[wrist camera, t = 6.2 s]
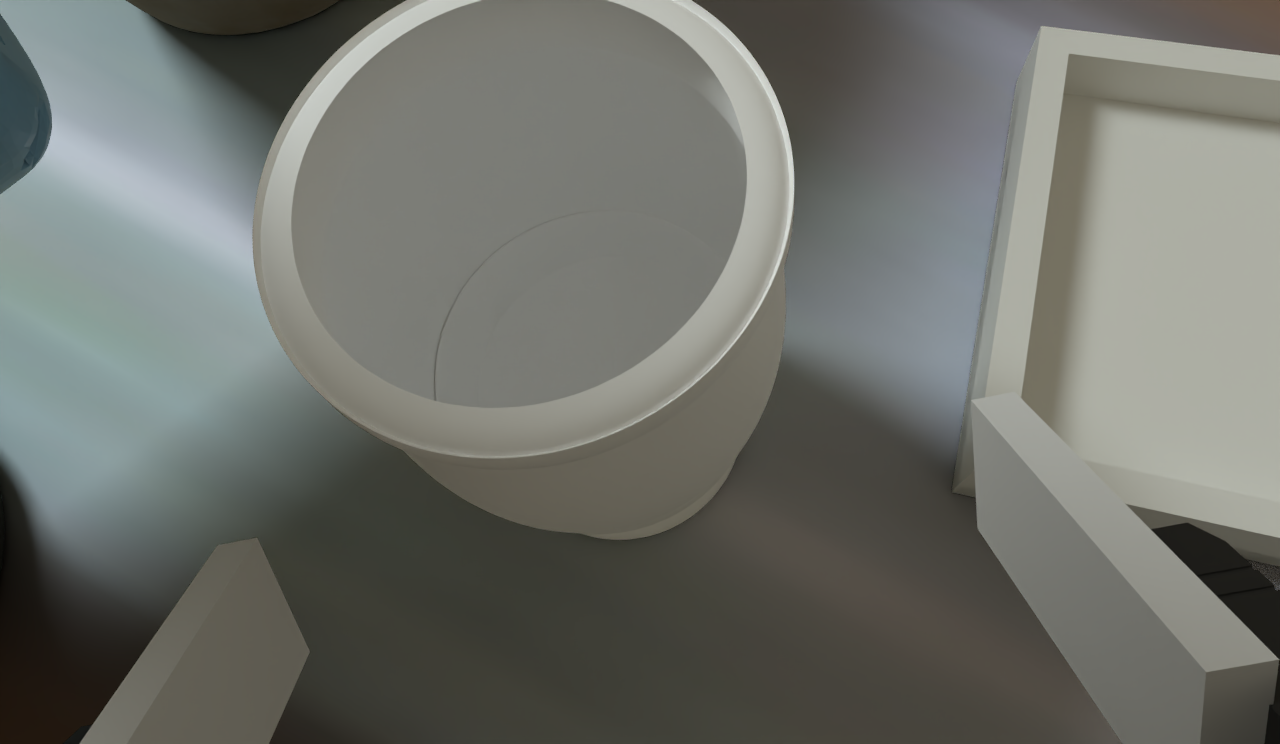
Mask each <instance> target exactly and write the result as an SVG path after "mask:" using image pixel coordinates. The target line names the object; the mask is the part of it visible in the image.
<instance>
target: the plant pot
mask: <svg viewBox="0 0 1280 744" xmlns="http://www.w3.org/2000/svg"><path fill="white" fill-rule="evenodd" d="M126 1H128V2H129V3H131V4H133V5H134V6H136V7H138V8H139V9H141V10H142V11H144V12H146V13H148V14H150V15H151V16H153V17H155V18H157V19H159V20H160V21H162V22H165V23H167V24H170V25H172V26H175V27H178V28H181V29H185V30H188V31H193V32H198V33H204V34H216V35H240V34H249V33H257V32H263V31H267V30H271V29H275V28H279V27H283V26H286V25H289V24H292V23H295V22H298V21H301V20H303V19H306V18H308V17H311V16H313V15H315V14H317V13H319V12H321V11H323V10H325V9H327V8H328V7H330V6H331V5H333V4H334V3H336V2H338V1H339V0H126Z"/></svg>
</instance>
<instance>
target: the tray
mask: <svg viewBox="0 0 1280 744" xmlns="http://www.w3.org/2000/svg"><path fill="white" fill-rule="evenodd" d="M1011 392H1015V393H1016V394H1017V395H1018V396H1019V397H1020V398H1021V399H1022V400H1023V401H1024V402H1025V403H1026V404H1027V405H1028V406H1029V407H1030V408H1031V409H1032V410H1033V411H1034V412H1035V413H1036V414H1037V415H1038V416H1039V417H1040V418H1041V419H1042V420H1043V421H1044V422H1045V423H1046V424H1047V425H1048V426H1049V427H1050V428H1051V429H1052V430H1053V431H1054V432H1055V433H1056V434H1057V435H1058V436H1059V437H1060V438H1061V439H1062V440H1063V441H1064V442H1065V443H1066V444H1067V445H1068V446H1069V447H1070V448H1071V449H1072V450H1073V451H1074V452H1075V453H1076V454H1077V455H1078V456H1079V457H1080V458H1081V459H1082V460H1083V461H1084V463H1085V464H1086V465H1087V466H1088V467H1089V468H1090V469H1091V470H1092V471H1093V472H1094V473H1095V474H1096V475H1097V476H1098V477H1099V478H1100V479H1101V480H1102V481H1103V482H1104V483H1105V484H1106V485H1107V486H1108V487H1109V488H1110V489H1111V490H1112V491H1113V492H1114V493H1115V494H1116V495H1117V496H1118V497H1119V498H1120V499H1121V500H1122V501H1123V502H1124V503H1125V504H1126V505H1127V506H1128V507H1129V508H1130V509H1131V510H1132V511H1133V512H1134V513H1135V514H1136V515H1137V516H1138V517H1139V518H1140V519H1141V520H1142V521H1143V522H1144V523H1145V524H1146V525H1147V526H1148V527H1149V528H1150V529H1154V528H1160V527H1165V526H1171V525H1176V524H1182V523H1190V524H1192V525H1194V526H1196V527H1198V528H1200V529H1202V530H1204V531H1206V532H1208V533H1210V534H1212V535H1214V536H1216V537H1218V538H1220V539H1222V540H1224V541H1226V542H1227V543H1228V544H1229V545H1230V546H1231V547H1233V548H1234V549H1235V550H1236V551H1237V552H1238V553H1239V554H1240V555H1241V556H1242V557H1244V558H1245V559H1248V560H1252V561H1256V562H1261V563H1265V564H1270V565H1274V566H1278V567H1280V56H1279V55H1271V54H1263V53H1255V52H1247V51H1239V50H1231V49H1223V48H1215V47H1207V46H1199V45H1191V44H1182V43H1174V42H1166V41H1158V40H1150V39H1142V38H1134V37H1126V36H1118V35H1110V34H1102V33H1094V32H1086V31H1078V30H1070V29H1062V28H1054V27H1046V26H1041V28H1040V30H1039V32H1038V35H1037V37H1036V39H1035V41H1034V44H1033V46H1032V48H1031V50H1030V53H1029V55H1028V57H1027V60H1026V62H1025V64H1024V66H1023V69H1022V71H1021V73H1020V75H1019V78H1018V80H1017V82H1016V88H1015V94H1014V100H1013V107H1012V113H1011V119H1010V125H1009V132H1008V138H1007V144H1006V151H1005V157H1004V163H1003V170H1002V176H1001V182H1000V188H999V195H998V201H997V207H996V214H995V220H994V226H993V233H992V239H991V245H990V251H989V258H988V264H987V270H986V277H985V283H984V289H983V295H982V302H981V308H980V314H979V321H978V327H977V333H976V340H975V346H974V352H973V358H972V365H971V371H970V377H969V384H968V390H967V396H966V402H965V409H964V415H963V421H962V428H961V434H960V440H959V447H958V453H957V459H956V465H955V472H954V478H953V484H952V491H951V492H953V493H958V494H962V495H966V496H971V497H975V498H976V490H975V470H974V451H973V431H972V411H971V400H974V399H979V398H985V397H990V396H995V395H1000V394H1005V393H1011Z"/></svg>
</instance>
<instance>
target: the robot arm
mask: <svg viewBox="0 0 1280 744" xmlns="http://www.w3.org/2000/svg"><path fill="white" fill-rule="evenodd" d="M51 130H52V115H51V109H50V103H49V100H48V97H47V94H46V91H45V89H44V86H43V84H42V82H41V79H40V77H39V75H38V73H37V71H36V69H35V68H34V66H33V64H32V62H31V60H30V59H29V57H28V55H27V54H26V52H25V51H24V49H23V47H22V46H21V44H20V43H19V41H18V39H17V38H16V36H15V35H14V33H13V32H12V30H11V29H10V27H9V26H8V24H7V23H6V21H5V20H4V19H3V17H2V16H1V14H0V194H1V193H3V192H4V191H5V190H7V189H8V188H9V187H11V186H12V185H13V184H15V183H16V182H17V181H19V180H20V179H21V178H23V177H24V176H25V175H26V174H27V173H29V172H30V171H31V170H32V169H33V168H34V167H35V166H36V164H37V163H38V162H39V161H40V159H41V158H42V157H43V155H44V153H45V151H46V149H47V147H48V144H49V140H50V136H51ZM971 411H972V431H973V451H974V470H975V490H976V510H977V529H978V530H979V532H980V533H981V535H982V536H983V538H984V539H985V540H986V542H987V543H988V545H989V546H990V548H991V549H992V551H993V552H994V554H995V555H996V557H997V558H998V560H999V561H1000V563H1001V564H1002V566H1003V567H1004V569H1005V570H1006V572H1007V573H1008V575H1009V576H1010V578H1011V579H1012V581H1013V582H1014V584H1015V585H1016V587H1017V588H1018V590H1019V591H1020V592H1021V594H1022V595H1023V597H1024V598H1025V600H1026V601H1027V603H1028V604H1029V606H1030V607H1031V609H1032V610H1033V612H1034V613H1035V615H1036V616H1037V618H1038V619H1039V621H1040V622H1041V624H1042V625H1043V627H1044V628H1045V630H1046V631H1047V633H1048V634H1049V636H1050V637H1051V639H1052V640H1053V641H1054V643H1055V644H1056V646H1057V647H1058V649H1059V650H1060V652H1061V653H1062V655H1063V656H1064V658H1065V659H1066V661H1067V662H1068V664H1069V665H1070V667H1071V668H1072V670H1073V671H1074V673H1075V674H1076V676H1077V677H1078V679H1079V680H1080V682H1081V683H1082V685H1083V686H1084V688H1085V689H1086V691H1087V692H1088V693H1089V695H1090V696H1091V698H1092V699H1093V701H1094V702H1095V704H1096V705H1097V707H1098V708H1099V710H1100V711H1101V713H1102V714H1103V716H1104V717H1105V719H1106V720H1107V722H1108V723H1109V725H1110V726H1111V728H1112V729H1113V731H1114V732H1115V734H1116V735H1117V737H1118V738H1119V740H1120V741H1121V742H1122V744H1280V590H1278V591H1276V590H1275V588H1274V585H1273V584H1272V583H1271V582H1270V581H1269V580H1268V579H1267V578H1266V577H1264V576H1263V575H1262V574H1261V573H1260V572H1259V571H1258V570H1253V568H1252V565H1251V564H1250V563H1249V562H1248V561H1247V560H1246V559H1245V558H1244V557H1242V556H1241V555H1240V554H1239V553H1238V552H1237V551H1236V550H1235V549H1234V548H1233V547H1231V546H1230V545H1229V544H1228V543H1227V542H1226V541H1224V540H1222V539H1220V538H1218V537H1216V536H1214V535H1212V534H1210V533H1208V532H1206V531H1204V530H1202V529H1200V528H1198V527H1196V526H1194V525H1192V524H1190V523H1182V524H1176V525H1171V526H1165V527H1160V528H1154V529H1150V528H1149V527H1148V526H1147V525H1146V524H1145V523H1144V522H1143V521H1142V520H1141V519H1140V518H1139V517H1138V516H1137V515H1136V514H1135V513H1134V512H1133V511H1132V510H1131V509H1130V508H1129V507H1128V506H1127V505H1126V504H1125V503H1124V502H1123V501H1122V500H1121V499H1120V498H1119V497H1118V496H1117V495H1116V494H1115V493H1114V492H1113V491H1112V490H1111V489H1110V488H1109V487H1108V486H1107V485H1106V484H1105V483H1104V482H1103V481H1102V480H1101V479H1100V478H1099V477H1098V476H1097V475H1096V474H1095V473H1094V472H1093V471H1092V470H1091V469H1090V468H1089V467H1088V466H1087V465H1086V464H1085V463H1084V461H1083V460H1082V459H1081V458H1080V457H1079V456H1078V455H1077V454H1076V453H1075V452H1074V451H1073V450H1072V449H1071V448H1070V447H1069V446H1068V445H1067V444H1066V443H1065V442H1064V441H1063V440H1062V439H1061V438H1060V437H1059V436H1058V435H1057V434H1056V433H1055V432H1054V431H1053V430H1052V429H1051V428H1050V427H1049V426H1048V425H1047V424H1046V423H1045V422H1044V421H1043V420H1042V419H1041V418H1040V417H1039V416H1038V415H1037V414H1036V413H1035V412H1034V411H1033V410H1032V409H1031V408H1030V407H1029V406H1028V405H1027V404H1026V403H1025V402H1024V401H1023V400H1022V399H1021V398H1020V397H1019V396H1018V395H1017V394H1016V393H1015V392H1011V393H1005V394H1000V395H995V396H990V397H985V398H979V399H974V400H971ZM3 551H4V513H3V504H2V498H1V493H0V572H1V567H2V560H3ZM309 653H310V651H309V649H308V646H307V644H306V642H305V640H304V638H303V636H302V633H301V631H300V629H299V627H298V625H297V623H296V620H295V618H294V616H293V614H292V612H291V610H290V607H289V605H288V603H287V601H286V599H285V597H284V594H283V592H282V590H281V588H280V586H279V584H278V581H277V579H276V577H275V575H274V573H273V571H272V568H271V566H270V564H269V562H268V560H267V558H266V555H265V553H264V551H263V549H262V547H261V545H260V542H259V540H258V538H252V539H247V540H241V541H236V542H231V543H226V544H221V545H217V547H216V548H215V549H214V551H213V552H212V554H211V555H210V557H209V558H208V559H207V561H206V562H205V564H204V565H203V567H202V568H201V570H200V571H199V572H198V574H197V575H196V577H195V578H194V580H193V581H192V582H191V584H190V585H189V587H188V588H187V590H186V591H185V593H184V594H183V595H182V597H181V598H180V600H179V601H178V603H177V604H176V605H175V607H174V608H173V610H172V611H171V613H170V614H169V616H168V617H167V618H166V620H165V621H164V623H163V624H162V626H161V627H160V629H159V630H158V631H157V633H156V634H155V636H154V637H153V639H152V640H151V641H150V643H149V644H148V646H147V647H146V649H145V650H144V652H143V653H142V654H141V656H140V657H139V659H138V660H137V662H136V663H135V664H134V666H133V667H132V669H131V670H130V672H129V673H128V675H127V676H126V677H125V679H124V680H123V682H122V683H121V685H120V686H119V687H118V689H117V690H116V692H115V693H114V695H113V696H112V698H111V699H110V700H109V702H108V703H107V705H106V706H105V708H104V709H103V710H102V712H101V713H100V715H99V716H98V718H97V719H96V721H95V722H94V723H93V725H88V726H83V727H80V728H79V729H78V730H77V731H76V732H75V733H74V734H73V735H72V736H71V737H69V738H68V739H67V740H66V741H65V742H64V743H63V744H269V742H270V740H271V738H272V736H273V734H274V731H275V729H276V727H277V725H278V722H279V720H280V718H281V716H282V713H283V711H284V709H285V707H286V704H287V702H288V700H289V698H290V695H291V693H292V691H293V689H294V686H295V684H296V682H297V680H298V678H299V675H300V673H301V671H302V669H303V666H304V664H305V662H306V660H307V657H308V655H309Z"/></svg>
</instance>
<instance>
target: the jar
mask: <svg viewBox="0 0 1280 744" xmlns="http://www.w3.org/2000/svg"><path fill="white" fill-rule="evenodd" d="M793 216H794V165H793V156H792V149H791V143H790V138H789V133H788V129H787V126H786V122H785V119H784V116H783V113H782V110H781V107H780V105H779V102H778V100H777V97H776V95H775V93H774V91H773V89H772V87H771V85H770V83H769V81H768V79H767V77H766V76H765V74H764V72H763V71H762V69H761V68H760V66H759V64H758V63H757V62H756V60H755V59H754V57H753V56H752V55H751V53H750V52H749V51H748V50H747V48H746V47H745V46H744V45H743V44H742V42H741V41H740V40H739V39H738V38H737V37H736V36H735V35H734V34H733V33H732V32H731V31H730V30H729V29H728V28H727V27H726V26H725V25H724V24H723V23H721V22H720V21H719V20H718V19H717V18H716V17H714V16H713V15H712V14H710V13H709V12H708V11H706V10H705V9H704V8H702V7H701V6H699V5H698V4H696V3H695V2H693V1H692V0H406V1H404V2H402V3H401V4H399V5H397V6H395V7H394V8H392V9H390V10H389V11H387V12H386V13H384V14H383V15H381V16H380V17H378V18H377V19H375V20H374V21H372V22H371V23H370V24H368V25H367V26H366V27H364V28H363V29H362V30H360V31H359V32H358V33H357V34H355V35H354V36H353V37H352V38H351V39H349V40H348V41H347V42H346V43H345V44H344V45H343V46H342V47H341V48H339V49H338V50H337V51H336V52H335V53H334V54H333V55H332V56H331V57H330V58H329V59H328V60H327V62H326V63H325V64H324V65H323V66H322V67H321V68H320V69H319V70H318V72H317V73H316V74H315V75H314V76H313V78H312V79H311V80H310V81H309V83H308V84H307V85H306V87H305V88H304V89H303V91H302V92H301V93H300V95H299V96H298V98H297V99H296V101H295V102H294V104H293V105H292V107H291V109H290V110H289V112H288V114H287V115H286V117H285V119H284V121H283V123H282V125H281V126H280V128H279V130H278V132H277V135H276V137H275V139H274V141H273V143H272V146H271V148H270V151H269V153H268V156H267V159H266V162H265V165H264V168H263V171H262V175H261V178H260V182H259V187H258V191H257V196H256V202H255V209H254V219H253V257H254V266H255V273H256V279H257V284H258V288H259V292H260V296H261V300H262V303H263V306H264V309H265V312H266V314H267V317H268V319H269V322H270V324H271V326H272V329H273V331H274V333H275V335H276V337H277V339H278V340H279V342H280V344H281V346H282V347H283V349H284V351H285V352H286V354H287V355H288V357H289V358H290V360H291V361H292V363H293V364H294V365H295V367H296V368H297V369H298V370H299V372H300V373H301V374H302V375H303V377H304V378H305V379H306V380H307V381H308V382H309V383H310V384H311V385H312V386H313V387H314V388H315V389H316V390H317V391H318V392H319V393H320V394H321V395H322V396H323V397H324V398H325V399H326V400H327V401H328V402H329V403H330V404H331V405H332V406H333V407H334V408H335V409H336V410H338V411H339V412H340V413H341V414H342V415H344V416H345V417H346V418H347V419H349V420H350V421H352V422H353V423H354V424H356V425H357V426H359V427H360V428H362V429H363V430H365V431H366V432H368V433H370V434H371V435H373V436H375V437H376V438H378V439H380V440H382V441H384V442H386V443H388V444H390V445H392V446H394V447H396V448H399V449H401V450H403V451H404V452H405V453H406V454H407V455H408V456H409V457H410V458H411V459H412V460H413V461H414V462H415V463H416V464H417V465H419V466H420V467H421V468H422V469H423V470H424V471H425V472H426V473H428V474H429V475H430V476H431V477H433V478H434V479H435V480H436V481H438V482H439V483H440V484H442V485H443V486H444V487H446V488H447V489H449V490H450V491H452V492H453V493H455V494H456V495H458V496H459V497H461V498H463V499H464V500H466V501H468V502H469V503H471V504H473V505H475V506H477V507H479V508H481V509H483V510H485V511H487V512H489V513H491V514H494V515H496V516H499V517H501V518H504V519H506V520H509V521H512V522H515V523H518V524H522V525H525V526H529V527H533V528H538V529H543V530H549V531H556V532H565V533H580V534H583V535H587V536H591V537H595V538H601V539H610V540H629V539H637V538H643V537H648V536H652V535H655V534H658V533H661V532H664V531H666V530H669V529H671V528H673V527H675V526H677V525H679V524H680V523H682V522H684V521H685V520H687V519H689V518H690V517H691V516H693V515H694V514H696V513H697V512H698V511H699V510H700V509H702V508H703V507H704V506H705V505H706V504H707V503H708V502H709V501H710V500H711V499H712V498H713V497H714V495H715V494H716V493H717V492H718V490H719V489H720V488H721V486H722V485H723V483H724V482H725V480H726V479H727V477H728V475H729V473H730V472H731V469H732V467H733V465H734V463H735V460H736V458H737V455H738V454H739V453H740V451H741V450H742V449H743V447H744V446H745V444H746V443H747V441H748V440H749V438H750V436H751V435H752V433H753V431H754V430H755V428H756V426H757V424H758V422H759V420H760V418H761V416H762V414H763V412H764V409H765V407H766V405H767V402H768V400H769V397H770V394H771V392H772V389H773V386H774V382H775V379H776V375H777V372H778V368H779V363H780V359H781V353H782V347H783V340H784V332H785V318H786V289H785V275H784V266H785V263H786V259H787V255H788V251H789V246H790V241H791V234H792V226H793Z"/></svg>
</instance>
